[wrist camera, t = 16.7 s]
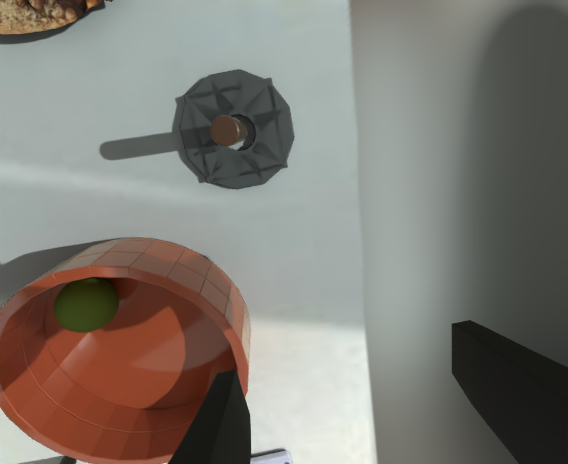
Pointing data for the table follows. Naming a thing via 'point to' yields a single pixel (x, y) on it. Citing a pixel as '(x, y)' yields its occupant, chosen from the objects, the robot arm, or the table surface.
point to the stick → (227, 131)
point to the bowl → (122, 353)
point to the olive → (86, 304)
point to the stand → (68, 460)
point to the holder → (233, 101)
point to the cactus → (40, 14)
